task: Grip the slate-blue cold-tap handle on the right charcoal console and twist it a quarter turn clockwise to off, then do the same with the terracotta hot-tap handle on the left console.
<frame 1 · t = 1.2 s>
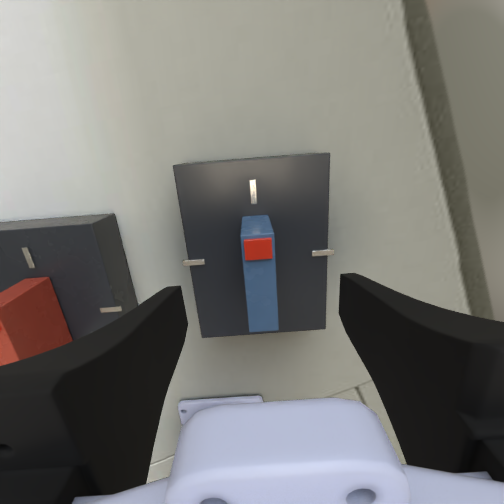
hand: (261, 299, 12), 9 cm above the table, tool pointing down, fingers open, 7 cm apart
cold tap: (259, 270, 15), point 5 cm above the table, hinge at 0.0°
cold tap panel: (256, 242, 20), on the table
hot tap panel: (77, 291, 21), on the table
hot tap: (27, 332, 16), point 5 cm above the table, hinge at 0.0°
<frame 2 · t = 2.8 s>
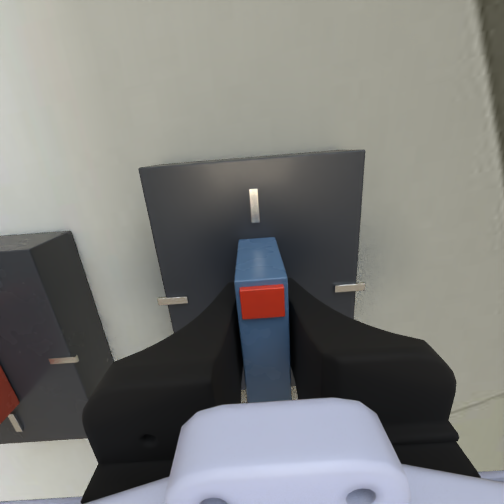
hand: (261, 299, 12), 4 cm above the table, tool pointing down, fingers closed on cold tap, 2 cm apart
cold tap: (263, 320, 11), point 5 cm above the table, hinge at 0.0°, touching gripper
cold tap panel: (258, 267, 15), on the table
hot tap panel: (30, 328, 17), on the table
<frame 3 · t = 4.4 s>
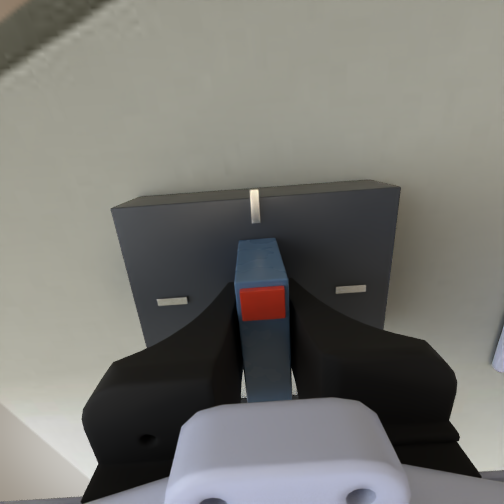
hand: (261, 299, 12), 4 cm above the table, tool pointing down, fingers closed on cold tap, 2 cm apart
cold tap: (263, 321, 11), point 5 cm above the table, hinge at -89.8°, touching gripper
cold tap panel: (258, 267, 15), on the table
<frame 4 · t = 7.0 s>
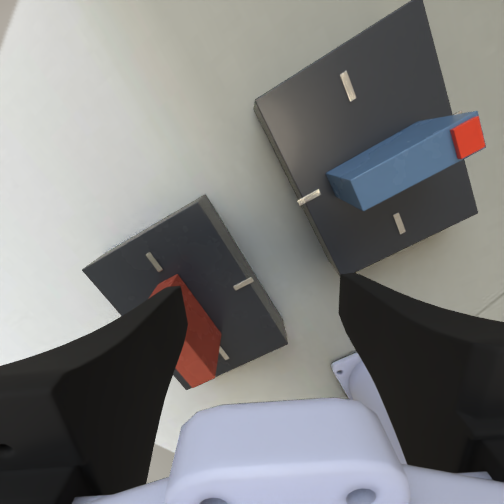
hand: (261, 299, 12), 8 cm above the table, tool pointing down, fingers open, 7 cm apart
cold tap: (394, 162, 13), point 5 cm above the table, hinge at -89.8°
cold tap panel: (355, 159, 18), on the table
hot tap panel: (198, 288, 21), on the table
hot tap: (184, 329, 16), point 5 cm above the table, hinge at 0.0°
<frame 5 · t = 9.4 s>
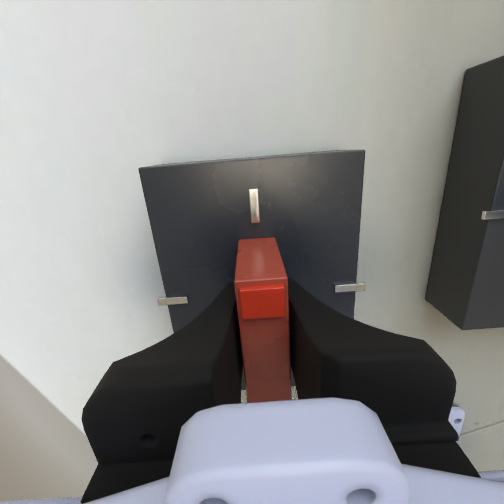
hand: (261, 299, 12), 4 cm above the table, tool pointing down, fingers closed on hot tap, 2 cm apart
hot tap panel: (258, 267, 15), on the table
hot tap: (263, 320, 11), point 5 cm above the table, hinge at 0.0°, touching gripper
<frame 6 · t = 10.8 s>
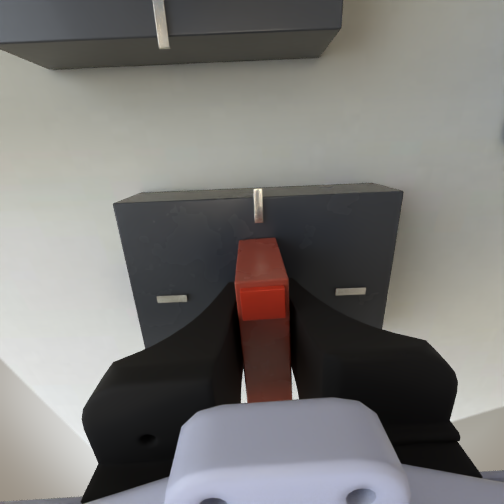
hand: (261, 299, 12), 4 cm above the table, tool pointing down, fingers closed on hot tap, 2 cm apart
hot tap panel: (258, 267, 15), on the table
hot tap: (263, 321, 11), point 5 cm above the table, hinge at -88.1°, touching gripper
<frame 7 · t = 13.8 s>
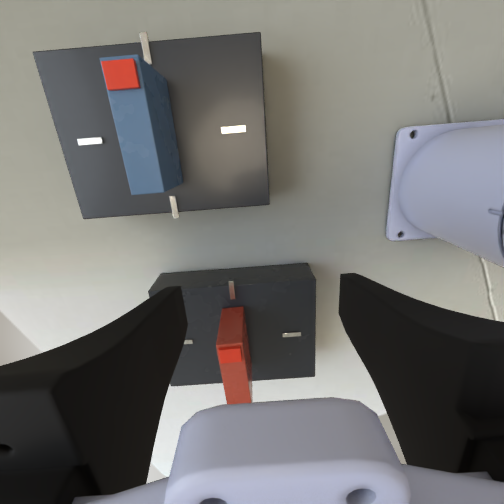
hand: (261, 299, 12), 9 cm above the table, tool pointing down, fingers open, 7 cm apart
cold tap: (149, 133, 13), point 5 cm above the table, hinge at -89.8°
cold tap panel: (175, 137, 18), on the table
hot tap panel: (238, 314, 23), on the table
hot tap: (236, 357, 19), point 5 cm above the table, hinge at -88.0°
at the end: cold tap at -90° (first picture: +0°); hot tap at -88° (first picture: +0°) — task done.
